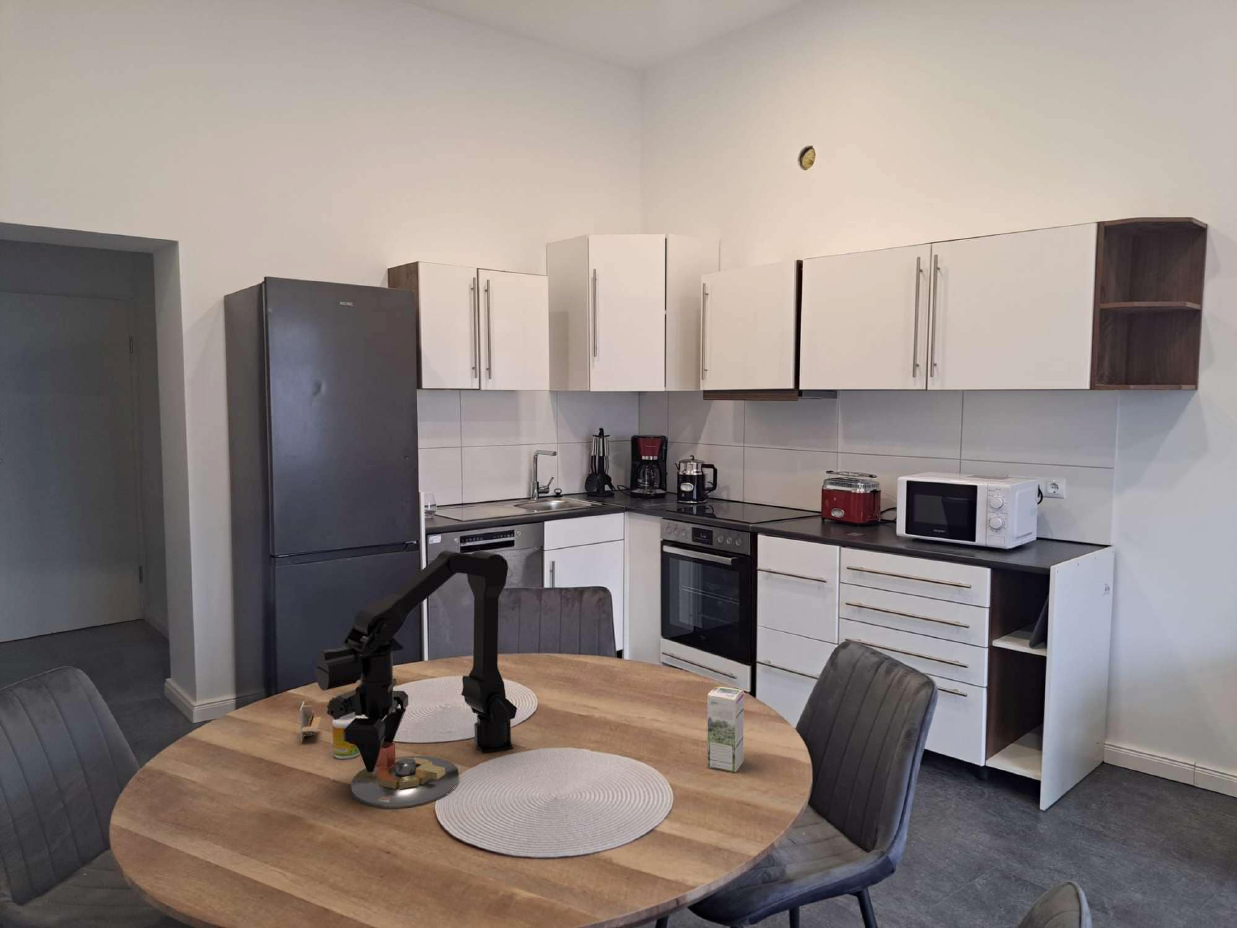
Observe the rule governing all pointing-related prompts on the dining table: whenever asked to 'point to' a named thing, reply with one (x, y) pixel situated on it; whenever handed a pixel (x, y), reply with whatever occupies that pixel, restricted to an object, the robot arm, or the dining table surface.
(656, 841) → the dining table surface
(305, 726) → the architectural model
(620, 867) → the dining table surface
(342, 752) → the supplement bottle
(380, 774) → the colourful block cluster
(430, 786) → the cap plate
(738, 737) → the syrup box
